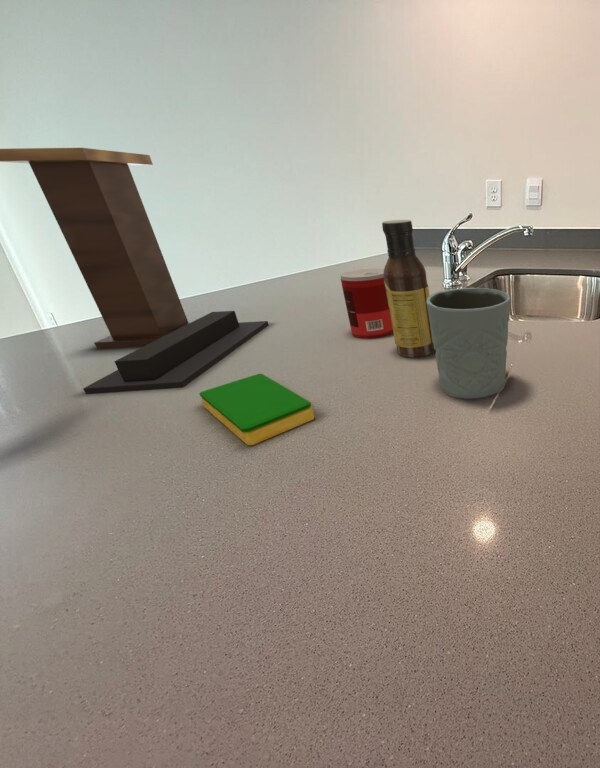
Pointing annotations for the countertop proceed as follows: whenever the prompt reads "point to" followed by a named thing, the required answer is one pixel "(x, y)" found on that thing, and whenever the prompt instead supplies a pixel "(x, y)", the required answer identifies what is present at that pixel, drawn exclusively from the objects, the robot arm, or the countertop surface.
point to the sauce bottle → (406, 291)
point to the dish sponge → (257, 408)
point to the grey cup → (470, 340)
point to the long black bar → (176, 347)
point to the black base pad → (183, 364)
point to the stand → (109, 239)
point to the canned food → (367, 303)
